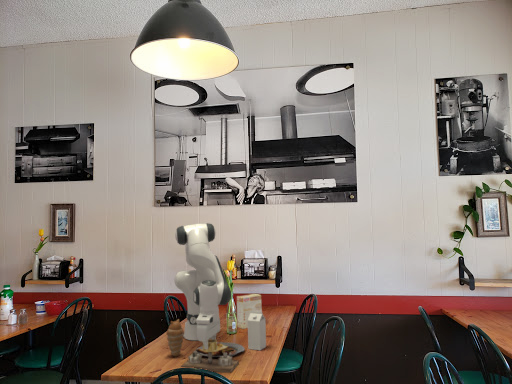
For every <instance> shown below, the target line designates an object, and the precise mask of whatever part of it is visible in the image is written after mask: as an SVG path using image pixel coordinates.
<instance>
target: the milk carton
mask: <svg viewBox="0 0 512 384" xmlns="http://www.w3.org/2000/svg"><path fill="white" fill-rule="evenodd" d="M266 323H267V322H266V317H265V315H264V314H263V311H262V312H256V311H250V316H249V318H248V328H247V343H248V344H247V346H248V350H255V351H261V350H264V349H265V348H267V335H266V334H267V333H266V332H267V329H266V328H267V327H266V326H267V325H266Z"/></svg>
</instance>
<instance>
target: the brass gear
mask: <svg viewBox="0 0 512 384" xmlns="http://www.w3.org/2000/svg"><path fill="white" fill-rule="evenodd" d="M217 343H218V340H217V339H215V340H214V339H211V338H210V339H208V344H209V348H208V349H204V344H203V343H202V346H203V351H206V352H210V351H211V352H213V351H216V350H217Z"/></svg>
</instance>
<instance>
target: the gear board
mask: <svg viewBox="0 0 512 384" xmlns="http://www.w3.org/2000/svg"><path fill="white" fill-rule="evenodd" d="M187 357H188V358H187V359H188V360H187V361H185V362H184V363H183V364H182V365H180V368H181V367H194V368H202V369H207V370H211V371H210V372H212V371H215V372H214V373H227V374H228V373H229V374H231V373H232V372H233V371H234V370H235V369H236V368H237V367H238V366H239V364H240V361H239V360H233V356H227V353H223V356H220V357H218V358H217V359H216V358H213V357H212V352H208V357H207V358H203V356H202V355H200V354H197V351H196V350H193V352H192V354H190V355H188V356H187Z"/></svg>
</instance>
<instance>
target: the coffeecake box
mask: <svg viewBox="0 0 512 384" xmlns="http://www.w3.org/2000/svg"><path fill="white" fill-rule="evenodd" d="M262 303H263V302H262V295H261V294H258V293H252V294H244V295H237V296H236V315H237V318H236V320H237V321H236V322H237V324H236V325H237V328H240V329H241V330H244V329H248V318H249V316H250V311H256V312H262V313H263V309H262V308H263V307H262V306H263V305H262Z"/></svg>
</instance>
